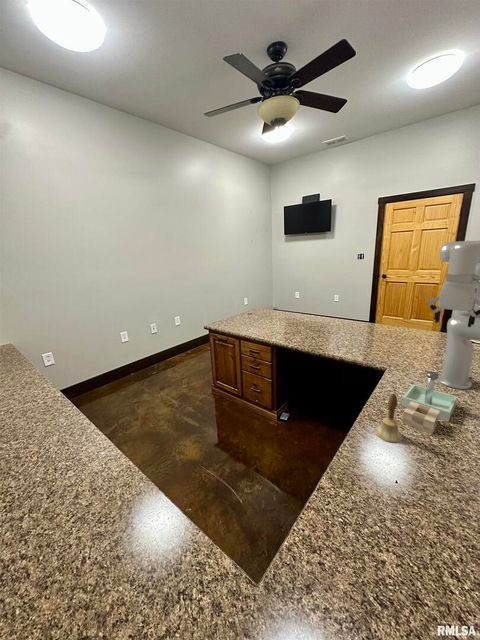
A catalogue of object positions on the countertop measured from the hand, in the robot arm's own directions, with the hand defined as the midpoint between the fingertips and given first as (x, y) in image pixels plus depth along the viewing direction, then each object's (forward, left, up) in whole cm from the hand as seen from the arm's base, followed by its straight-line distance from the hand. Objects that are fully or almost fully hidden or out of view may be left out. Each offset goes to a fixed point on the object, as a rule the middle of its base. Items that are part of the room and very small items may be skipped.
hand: (452, 323), depth 97 cm
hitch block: (+20, -2, -34) cm, 39 cm away
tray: (+6, -2, -34) cm, 34 cm away
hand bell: (+34, -8, -34) cm, 49 cm away
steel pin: (+6, -3, -33) cm, 33 cm away
